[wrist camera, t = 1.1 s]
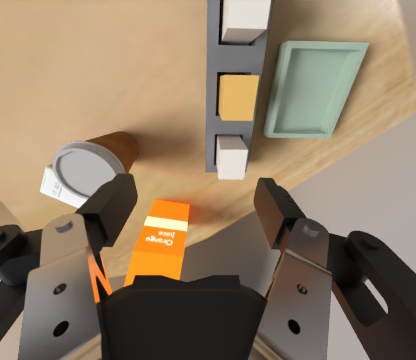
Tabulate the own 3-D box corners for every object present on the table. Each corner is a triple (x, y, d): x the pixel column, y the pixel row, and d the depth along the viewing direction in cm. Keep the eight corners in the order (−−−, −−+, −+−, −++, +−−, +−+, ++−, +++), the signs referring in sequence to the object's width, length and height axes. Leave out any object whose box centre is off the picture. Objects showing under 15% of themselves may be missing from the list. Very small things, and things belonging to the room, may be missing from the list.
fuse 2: (216, 130, 32) (220, 149, 23) (236, 131, 32) (248, 149, 23) (215, 154, 34) (218, 179, 26) (234, 154, 35) (243, 179, 26)
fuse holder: (207, -24, 21) (207, -43, 18) (267, -22, 21) (279, -41, 18) (205, 163, 35) (205, 172, 32) (242, 163, 36) (246, 172, 32)
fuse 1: (221, -1, 22) (232, -51, 14) (250, 0, 23) (278, -49, 14) (219, 45, 25) (227, 27, 17) (245, 46, 25) (266, 28, 17)
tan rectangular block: (218, 76, 27) (224, 74, 19) (242, 76, 27) (259, 75, 19) (217, 108, 30) (222, 120, 21) (238, 109, 30) (252, 120, 21)
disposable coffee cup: (145, 127, 31) (116, 149, 21) (147, 170, 36) (124, 206, 26) (93, 119, 30) (36, 139, 20) (102, 165, 35) (60, 199, 25)
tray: (279, 44, 25) (288, 40, 22) (353, 46, 25) (369, 42, 23) (262, 133, 32) (267, 137, 30) (320, 133, 32) (330, 138, 30)
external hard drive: (98, 211, 43) (44, 188, 39) (108, 190, 39) (51, 163, 36) (94, 215, 41) (38, 192, 38) (105, 194, 38) (45, 167, 34)
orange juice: (154, 198, 40) (118, 285, 23) (190, 204, 41) (179, 291, 24) (153, 220, 44) (121, 309, 27) (185, 225, 45) (173, 312, 28)
